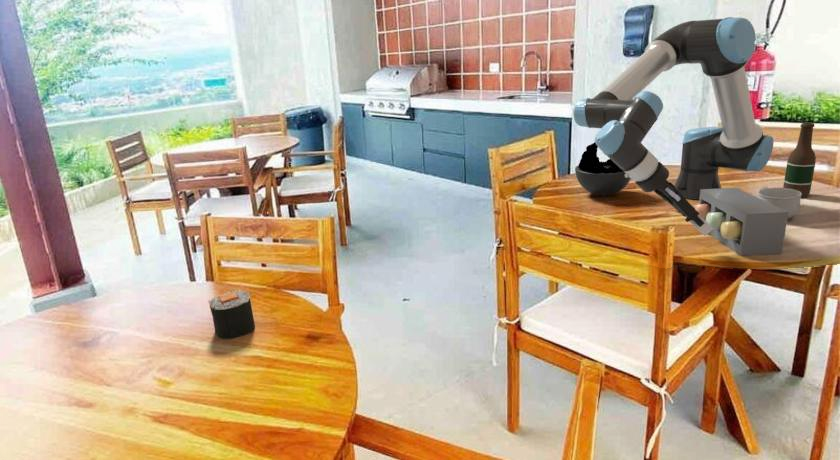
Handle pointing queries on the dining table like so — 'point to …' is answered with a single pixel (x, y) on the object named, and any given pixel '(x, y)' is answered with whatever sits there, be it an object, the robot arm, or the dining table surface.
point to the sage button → (715, 219)
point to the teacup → (782, 198)
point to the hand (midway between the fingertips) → (707, 231)
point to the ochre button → (731, 229)
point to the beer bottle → (801, 163)
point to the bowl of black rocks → (599, 174)
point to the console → (748, 220)
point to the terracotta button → (703, 209)
